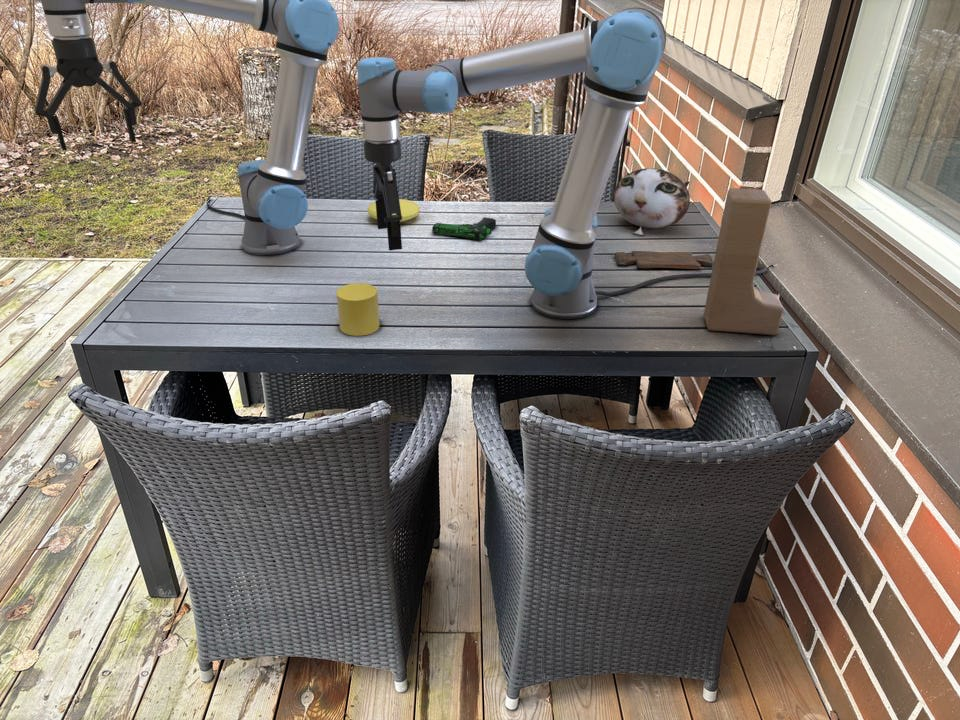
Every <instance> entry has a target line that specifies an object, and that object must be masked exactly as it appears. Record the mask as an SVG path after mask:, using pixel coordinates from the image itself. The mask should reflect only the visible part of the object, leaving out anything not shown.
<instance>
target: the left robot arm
mask: <svg viewBox="0 0 960 720" xmlns="http://www.w3.org/2000/svg"><path fill="white" fill-rule="evenodd" d="M40 3H41V6H42V10H43V13H44V18H45V23H46V26H47V30H48V33H49V35H50V36H51V37H53V38H52V40H51V44H52V48H53V53H54V56H55V60H56V65H46V64H41V66H40V71H41V80H40V84H39V88H38V93H37V96H36V101H35V105H34V109H33V110H34V113H35V115H36V116H38V117H44V118H46V121H47V124H48V127H49V131H50V133H51V134H52V135H57V137H58V142H59V144H60V148H61V150H62V151H67V150H68V149H67V145H66V140H65V138H64V134H63V131H62V127H61V123H60V119H59V117H58V116H57V115H56V113H57V111H58V110H59V107H60V106H61V104H62V102H63V101H64V99H65V97H66V96H67V94H68V92H69V91H70V90H71V89H72V87H75V88H78V89H79V88H83V87H89V88H90V87H94V86H95V85H99V86H100V87H101V88H103V89H104V90H105V91H106V92H107V93H108V94H110V95H111V96H112V97H113V98H115V99H116V100H117V101H118V102H119V103H121V104H122V105H123V106H124V107H125V108H123V109H122V112H123V116H124V120H125V124H126V128H127V133H128V137H129V140H130V142H132V143H137V138H136V135H135V130H134V126H137V125H138V120H137V116H136V112H135V110H136V108H138V107H141V106H143V102H142V101H141V99H140V98H139V96H138V95H137V94H136V93H135V91H134V90H133V89H132V87H131V86H130V84H129V83H128V82H127V81H126V80H125V78H124V77H123V76H122V74H121V73H120V70H119V68H118V65H117V63H116V62H115V61H114V60H112V59H109V60H108V61H105V62H100V60H99V57H98V54H97V48H96V45H95V40H94V38H92V37H90V36H91V35H92V29H91V23H90V21H89V17H88V13H87V8H86V4H127V3H128V4H139V5H145V6H151V7H155V8H160V9H164V10H165V9H166V10H171V11H175V12H181V13H188V14H191V15H192V14H193V15H197V16H203V17H208V18H209V17H210V18H214V19H218V20H224V21H229V22H236V23H240V24H245V25H250V27H252V29H253V30H254V31H258V32H264V33H266V34H271V35H274V36H276V41H275V50H276V52H277V53H278V54H279V57H280V63H279V70H278V76H277V82H276V83H277V84H276V90H275V96H274V103H273V110H272V117H271V124H270V131H269V138H268V144H267V151H266V158H265V159H256V160H250V161H246V162H242V163H240V164H239V165H238V166H237V179H238V183H239V190H240V196H241V201H242V208H243V212H244V213H243V214H240V213H237V212H231V211H226V210H221V209H218V208H215V207H213V206H211V205H210V202H211V201H212V199H211V197H207V199H206V207H207V208H208V209H210V210H212V211H214V212H217V213H221V214H225V215H231V216H236V217H239V218H241V219H245V220H244V226H243V228H244V229H243V235H242V237H241V246H242V249H243V251H244V252H246V253H248V254H252V255H255V256H256V255H257V256H275V255H281V254H282V255H283V254H285V253H289V252H291V251H293V250H296V249H297V248H298V247H299V246H300V244H301V241H300V235H299V233H298V231H297V229H296V226H298V225H300V223H302V222H303V221H304V219H305V218H306V216H307V213H308V210H309V202H308V198H307V195H306V194H305V190H306V185H307V179H308V178H307V177H308V176H307V175H306V173H305V172H304V170H303V163H304V158H305V152H306V145H307V140H308V139H307V138H308V134H309V127H310V121H311V116H312V115H311V114H312V110H313V104H314V96H315V91H316V84H317V80H318V73H319V68H321V66H323V65H325V64H327V60H328V55H329V49H330V48H331V46H333V44H335V41H336V40H337V38H338V36H339V29H340V24H339V23H340V22H339V18H338V14H337V12H336V10H335V8H334V7H333V5H332V3H330V1H329V0H40ZM104 70H105V71H106V72H107V73H109V74H112V76H113V77H114V79H115V80H116V81H117V82H118V84H119V85H120V86H121V88H122V89H123V90H124V91H125V93H126V94H127V96H128V97H129V98H130V99H131V101H128V100H127V99H126V98H125V97H124V96H123V95H122V94H120V93H119V92H118V91H116V90H115V89H114V87H112V86H110V85H109V84H108V83H107V82H106V81H105V80H104V79H102V77H101V75H102V72H103V71H104ZM56 73H58V74H59V75H60V76H61V77H62V78H63V79H62V81H61V83H60V85H59V87H58V89H57V90H56V92H55V94H54V96H53V98H52V99H51V100H50V102H49V104H48V106H47V108H46V109H45V106H46V101H47V97H48V93H49V89H50V85H51V79H52V78H54V77H55V74H56ZM209 199H210V200H209ZM208 200H209V201H208ZM207 201H208V202H207ZM208 203H209V204H208Z"/></svg>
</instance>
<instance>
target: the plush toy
mask: <svg viewBox="0 0 960 720" xmlns="http://www.w3.org/2000/svg"><path fill="white" fill-rule="evenodd" d="M689 185H690V181H686V182H683V180H681V178H679V176H677V175H675V174H674V173H672V172H669V171H667V170H665V169H661V168H653V167H648V168H647V167H646V168H640V169H636V170H633V171H631V172H626V174H625V176H623V177H621V179H620V180H619V181H618V182H617V184H616V186H615V188H614V191H613V202H614V203H613V204H614V206H615V208H616V211H617V212H618V213H619V215H620V216H621V217H622V218H623V219H624V220H626V221H627V222H629V223H630V224H632V225H634V226H637V227H639V228H638V229H637V230H636V231H634V232H633V234H634V235H640V236H644V233H643V231H642V228H643V229H650V230H651V229H652V230H655V229H664V228H668V227H670V226H673V225H675V224H677V223H678V222H680V221H681V219H683V218H684V217H685V215H686V214H687V212H688V210H689V207H690V204H691V195H690V191H689V189H688V186H689Z"/></svg>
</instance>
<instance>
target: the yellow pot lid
mask: <svg viewBox="0 0 960 720" xmlns="http://www.w3.org/2000/svg"><path fill="white" fill-rule="evenodd" d="M399 202H400V209H401V215H402V220H400V223H402V222H407V221H409V220H411V219H413V218H415V217H417V216H418V215H419V213H420V206H419V205H418V204H417V203H416V202H415V201H411V200H408V199H403V198H399ZM366 211H367V214H368V215H369V217H371V218H372V219H375V220H377V213H376V202H375V201H374V202H371V203H370V204H369V205H368V206H367V209H366ZM392 215H396V214H392Z"/></svg>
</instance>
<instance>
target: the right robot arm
mask: <svg viewBox="0 0 960 720" xmlns="http://www.w3.org/2000/svg"><path fill="white" fill-rule="evenodd" d="M666 32H667V31H666V28H665V26H664V24H663V21H662V20H661V19H660V17H659V15H657V14H656V13H655V12H653V11H652V10H650V9H648V8H645V7H639V6H633V7H628V8H625V9H622V10H621V11H619V12H617V13H615V14H612V15H610V16H606V17H604V18H600V19H597V20H591V21H590V22H589V23H588V25H587V26H586V28H582V29H578V30H575V31H570V32H566V33H561V34H556V35H553V36H548V37H544V38H539V39H535V40H531V41H526V42H523V43H522V42H521V43H517V44H514V45H510V46H506V47H501V48H497V49H492V50H488V51H484V52H479V53H476V54H471V55H465V56H464V57H463V56H462V57H458V58H448V59H444V60H441V61H439V62H437V64H435V65H432V66H429V67H427V68H425V69H423V70H401V69H397V65H396V61H395V60H394V59H393V58H391V57H386V56H375V57H374V56H373V57H372V56H371V57H366V58H363V59H360V60H359V61H358V62H357V67H356V69H357V83H356V85H357V86H358V98H359V106H360V118H361V124H359V125H358V128H359V130H362V138H363V139H364V142H363V153H364V160H365V161H366V162H369V163H372V193H373V195H374V199H375V200H374V202H376V213H377V219H376V224H377V229H378V230H385V229H386V232H387V244H388V245H387V246H388V250H389V252H390V251H398V250H402V249H403V243H402V228H401V227H402V226H401V222H400V220H402V215H401V209H400V202H399V199H400V197H399V196H400V195H399V190H398V181H397V172H396V169H395V168H393V165H392V163H393V162H397V161H399V160H400V159H401V158H402V146H401V140H399V139H400V138H401V126H400V115H399V112H412V113H413V112H415V113H428V114H429V113H430V114H434V115H435V114H436V115H438V114H449V113H452V112H454V110H455V108H456V105H457V103H458V99H461V98H465V97H470V96H474V95H479V94H483V93H488V92H493V91H498V90H503V89H508V88H513V87H516V86H522V85H527V84H532V83H537V82H541V81H546V80H551V79H557V78H561V77H566V76H572V75H577V74H580V73H585V76H584V78H583V82H582V85H583V88H584V89H585V92H586V94H587V97H586V100H585V103H584V107H583V110H582V113H581V117H580V119H579V122H578V126H577V129H576V132H575V135H574V139H573V142H572V146H571V148H570V152H569V155H568V158H567V161H566V164H565V166H564V171H563V174H562V177H561V180H560V183H559V187H558V189H557V193H556V196H555V199H554V203H553V206H552V207H550V208H548V209H546V210H545V212H544V216H543V217H542V218H541V219H540V222H539V226H538V228H537V232H536V235H535V238H534V240H533V243H532V244H533V245H532V247H531V250H530V251H529V252H528V254H527V255H526V258H525V263H524V274H525V277H526V279H527V281H528V282H529V284H530V285H531V286H532V287H533V290H532V293H531V296H530V299H531V300H530V305H531V308H532V309H533V310H534V311H536V312H537V313H539V314H541V315H543V316H546V317H549V318H552V319H558V320H576V319H583V318H586V317H588V316H590V315H592V314H594V312H595V311H596V310H597V304H598V297H597V296H604V297H613V296H617V295H622V294H626V293H628V292H631V291H634V290H636V289H639V288H642V287H645V286H648V285H651V284H653V283H657V282H661V281H668V280H675V279H684V278H705V277H711V274H712V272H699V273H697V272H695V273H681V274H680V273H679V274H671V275H665V276H660V277H656V278H652V279H648V280H645V281H643V282H640V283H638V284H635V285H632V286H629V287H626V288H623V289H620V290H616V291H615V290H614V291H610V292H609V291H602V290H596V289H595V284H594V281H593V266H594V257H595V246H596V238H597V228H598V216H597V213H598V210H599V207H600V204H601V201H602V198H603V196H604V194H605V190H606V187H607V185H608V181H609V179H610V176H611V173H612V170H613V168H614V165H615V162H616V159H617V156H618V153H619V150H620V148H621V145H622V142H623V139H624V137H625V133H626V130H627V128H628V126H629V122H630V119H631V117H632V113H633V110H634V109H636V108H637V107H639V106H641V105H643V104H645V103H646V100H647V97H648V94H649V91H650V88H651V85H652V82H653V80H654V77H655V75H656V72H657V70H658V68H659V65H660V63H661V59H662V57H663V55H664V52H665V49H666V46H667V45H666V44H667V33H666ZM392 214H396V215H392ZM766 271H767V270H764V269H763V268H761V269H759V270H756V272H755V276H756V275H761V274H763V273H765V272H766Z"/></svg>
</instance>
